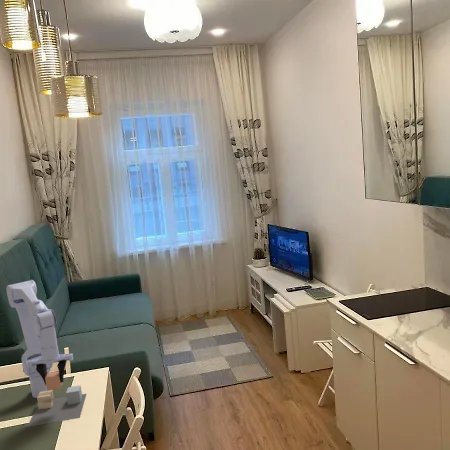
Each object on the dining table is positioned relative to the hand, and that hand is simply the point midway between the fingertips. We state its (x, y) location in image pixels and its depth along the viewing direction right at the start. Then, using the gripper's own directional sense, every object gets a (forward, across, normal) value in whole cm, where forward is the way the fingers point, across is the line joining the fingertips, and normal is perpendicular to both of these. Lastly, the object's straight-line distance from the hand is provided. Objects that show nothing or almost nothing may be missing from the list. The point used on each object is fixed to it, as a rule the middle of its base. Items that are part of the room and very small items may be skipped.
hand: (54, 382), depth 168 cm
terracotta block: (+1, 0, 0) cm, 1 cm away
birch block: (+10, -5, +4) cm, 12 cm away
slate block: (+10, +5, +4) cm, 12 cm away
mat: (+10, 0, 0) cm, 10 cm away
